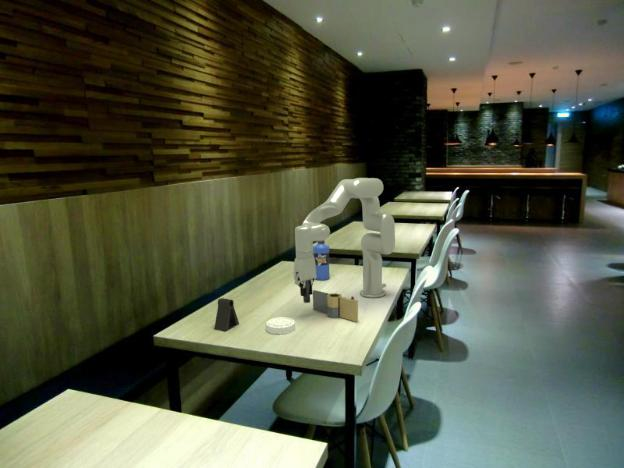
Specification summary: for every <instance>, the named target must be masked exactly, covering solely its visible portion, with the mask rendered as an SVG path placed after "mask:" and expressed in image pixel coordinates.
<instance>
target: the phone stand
mask: <svg viewBox="0 0 624 468" xmlns="http://www.w3.org/2000/svg"><path fill="white" fill-rule="evenodd" d="M234 304H235V303H234V300H233V299H230V298H229V299H228V298H222V297H221V298H218V300H217V310H216V316H215V322H214V328H213V329H214V330H218V331H221V332H228V331H229V330H231V329H234V328H235V327H237V326H239V325H240V321H239V319H238V315H237V312H236V309H235V305H234Z"/></svg>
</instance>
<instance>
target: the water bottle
mask: <svg viewBox="0 0 624 468" xmlns="http://www.w3.org/2000/svg"><path fill="white" fill-rule="evenodd" d="M316 242H317V244H315V245H313V250H314V252H313V256H314V258H315V264H316V275H317V278H316V279H315V280H314V281H318V282H325V281H329V280H330V260H329V256H330V246H329V245H327V244H326V243H325V242H326V241H325V240H323V241H316Z"/></svg>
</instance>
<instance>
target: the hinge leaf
mask: <svg viewBox="0 0 624 468" xmlns="http://www.w3.org/2000/svg"><path fill="white" fill-rule="evenodd" d="M327 306H328V307H331V308H338V307H340V317H339V318H342V319H346V320H349V321H352V322H355V323H356V322H359V301H358V300H355V299H354V300H352V299H351V298H348V297H343V296H342V294H341V293H337V292H336V293H333V292H332V293H328V295H327Z"/></svg>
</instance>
